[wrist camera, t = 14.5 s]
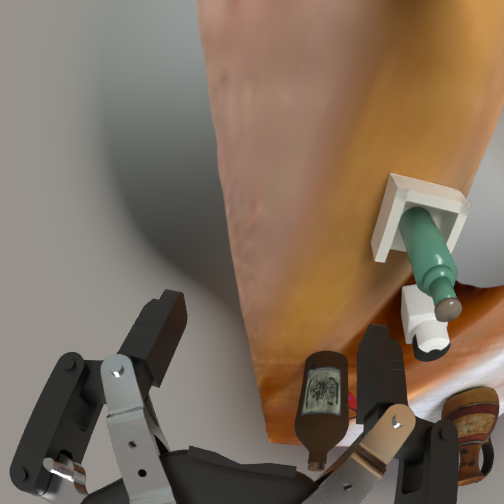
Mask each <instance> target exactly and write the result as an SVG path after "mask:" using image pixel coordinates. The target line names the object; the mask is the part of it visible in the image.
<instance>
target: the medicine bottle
mask: <svg viewBox="0 0 504 504" xmlns="http://www.w3.org/2000/svg"><path fill="white" fill-rule="evenodd" d="M434 309H435V306H434V303H433V299H432V297H429V296H428V295H427V294H426V293H423V292H421V291H420V290H419V289H418V287H417V284H415V285H409V286H403V287H402V302H401V317H402V323H403V328H404V334H405V340H406V344H411V343H412V344H413V350H414V356H415V358H416V359H418V360H420V361H424V362H428V361H433V360H436V359H438V358H440V357H442V356H443V355H445V354H446V353H447V351H448V350H449V348H450V340H449V336H448V332H447V329H446V327H447V323H448V322H439V321H437V320H436V317H435V313H434Z"/></svg>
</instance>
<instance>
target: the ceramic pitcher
mask: <svg viewBox="0 0 504 504" xmlns="http://www.w3.org/2000/svg"><path fill="white" fill-rule="evenodd" d="M498 414H499V399H498V395H497V393H496V391H495V390H494V389H493V388H490V387H481V388H476V389H472V390H469V391H466V392H463V393H460V394H457V395H455V396H453V397H452V398H450V399H449V400H448V401H447V402H446V403H445V404H444V406H443V409H442V415H441V420H442V419H447V420H450V421H452V422H453V423H454V424H455V426H456V427H457V430H458V446H459V453H460V466H459V472H458V486H464V485H469V484H472V483H474V482H475V483H477V482H479V481H481V480H482V479H484V478H485V477H486V476H487V475H488V473H489V472H490V471H491V469H492V465H493V460H494V451H493V446H492V443H491V440H490V435H491V433H492V432H493V430H494V427H495V425H496V422H497V419H498ZM481 447H482V450H483V457H484V461H483V466H482V469H481V471H480V469H479V465H478V458H479V452H480V448H481Z"/></svg>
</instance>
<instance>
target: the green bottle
mask: <svg viewBox="0 0 504 504" xmlns="http://www.w3.org/2000/svg"><path fill="white" fill-rule="evenodd" d="M398 227H399V231H400V234H401V236H402V239H403V242H404V245H405V248H406V251H407V254H408V258H409V261H410V264H411V267H412V270H413V274H414V277H415V281H416V284H417V287H418V289H419V290H420V291H421V292H423V293H426V294H427V295H428V296H429V297H432V299H433V303H434V306H435V309H434V313H435V317H436V320H437V321H439V322H449V321H451V320H453V319H455V318H456V317H457V316H458V315H459V314H460V313H461V310H462V306H461V304H460V301H459V299H457V298H456V295H455V292H454V289H453V287H454V285H455V280H456V277H457V267H456V265H455V263H454V260H453V258H452V256H451V254H450V252H449V249H448V247H447V245H446V243H445V241H444V239H443V237H442V235H441V233H440V231H439V229H438V227H437V225H436V223H435V222H434V220H433V218H432V216H431V214H430V213H429V211H428V210H426V209H425V208H422V207H413V208H410V209H408V210H406V211H405V212H404V213H403V214H402V215H401V218H400V221H399V224H398Z"/></svg>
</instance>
